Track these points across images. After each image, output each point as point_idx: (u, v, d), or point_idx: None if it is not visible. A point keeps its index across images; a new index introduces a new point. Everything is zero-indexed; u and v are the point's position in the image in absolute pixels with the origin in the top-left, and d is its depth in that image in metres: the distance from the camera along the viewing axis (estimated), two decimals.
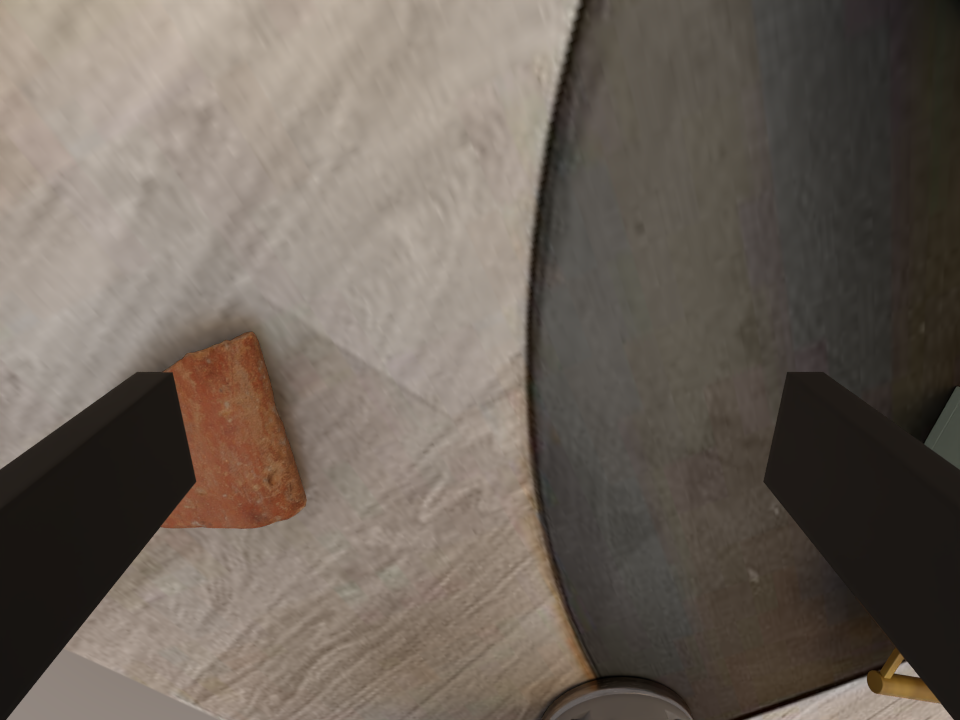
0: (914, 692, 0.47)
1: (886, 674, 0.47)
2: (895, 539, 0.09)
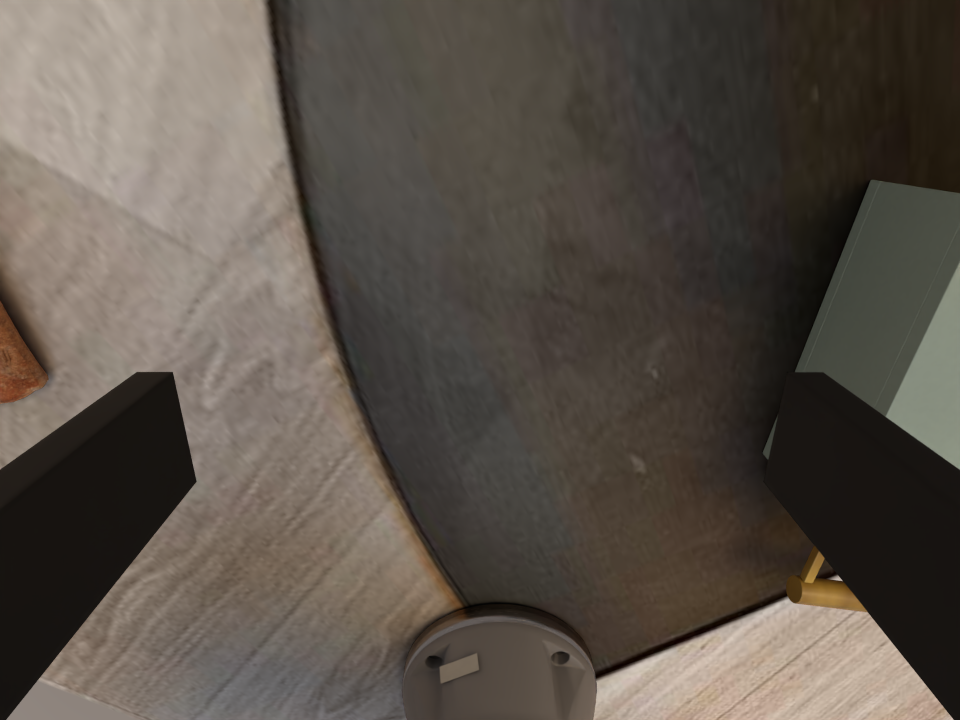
0: (844, 599, 0.37)
1: (806, 577, 0.37)
2: (894, 539, 0.09)
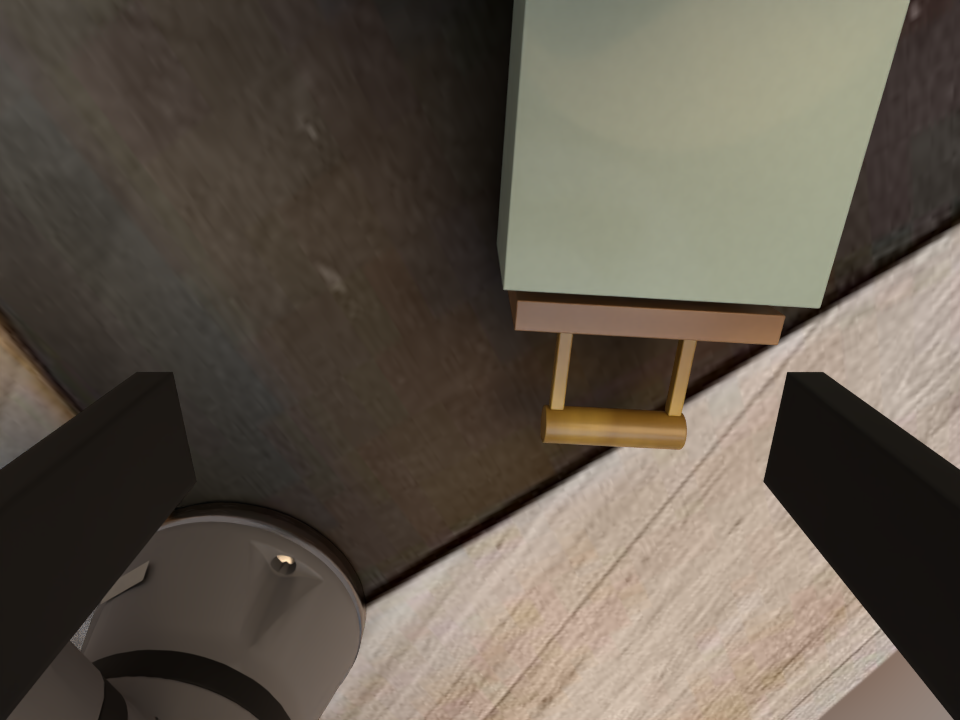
0: (609, 428, 0.26)
1: (552, 401, 0.26)
2: (895, 539, 0.09)
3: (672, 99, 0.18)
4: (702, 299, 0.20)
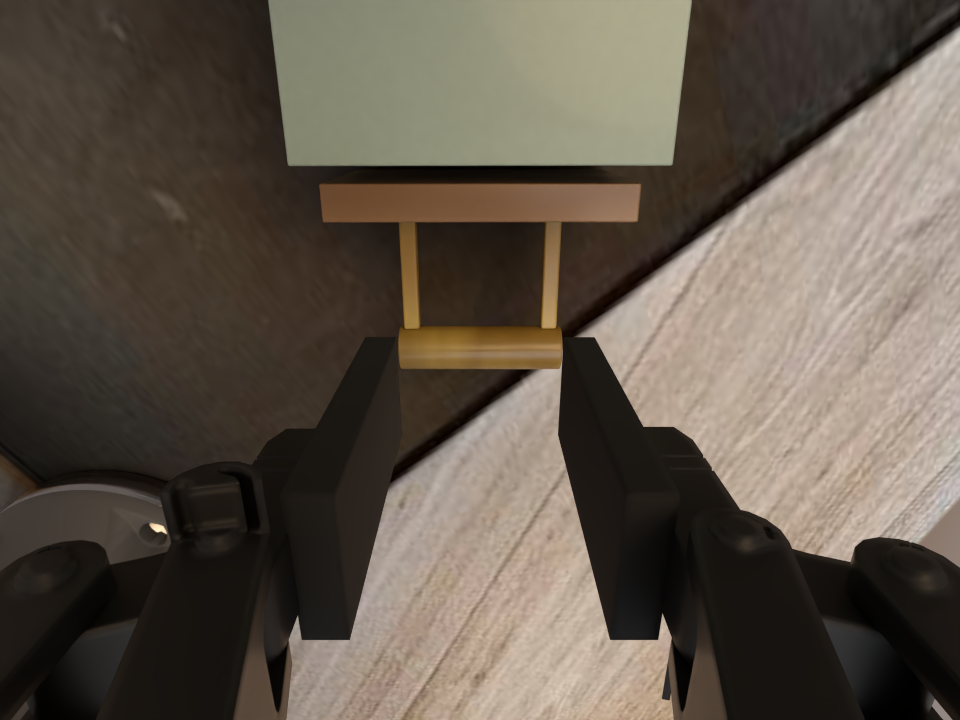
0: (472, 346, 0.22)
1: (405, 319, 0.22)
2: (587, 464, 0.11)
3: None
4: (528, 163, 0.17)
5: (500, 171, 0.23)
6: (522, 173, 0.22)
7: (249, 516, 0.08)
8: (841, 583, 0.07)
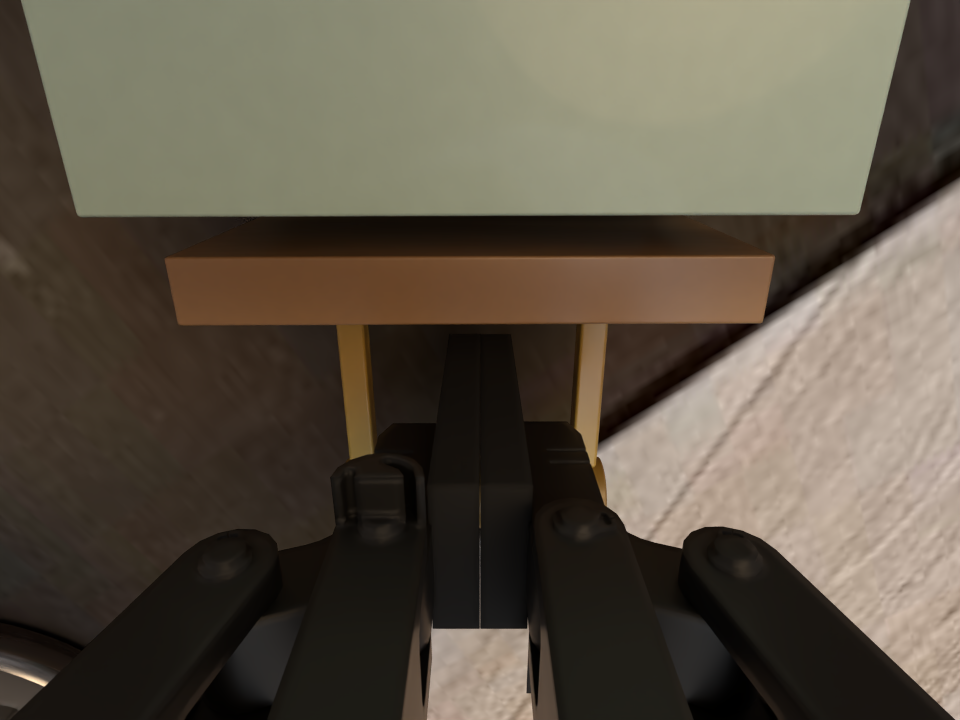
0: None
1: (351, 455, 0.14)
2: None
3: None
4: (567, 210, 0.08)
5: None
6: (541, 218, 0.13)
7: (406, 508, 0.08)
8: (675, 570, 0.07)
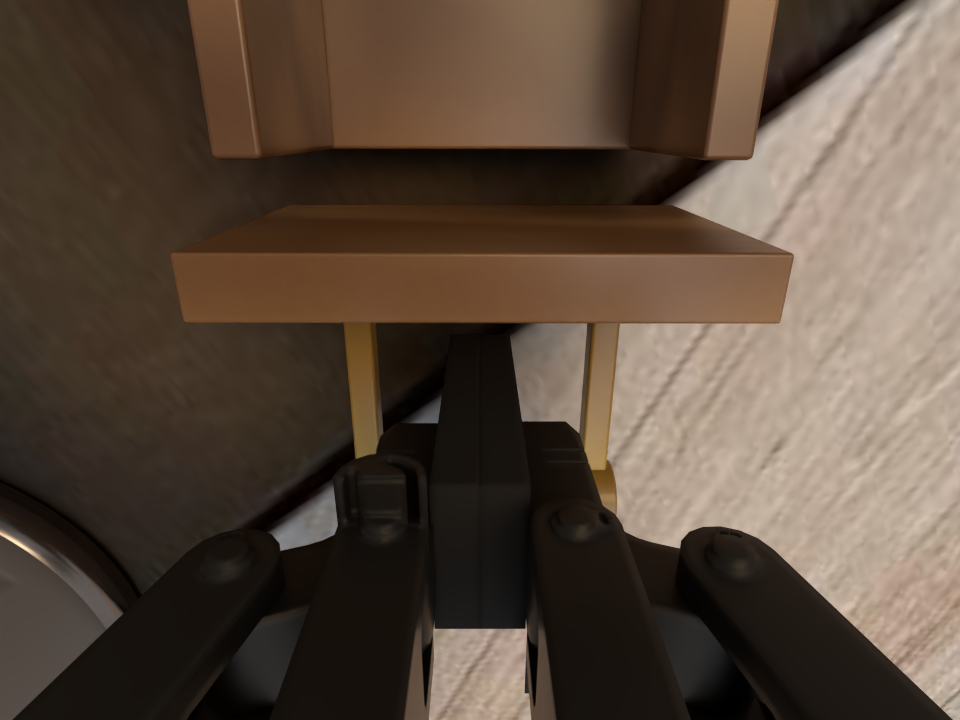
0: None
1: (357, 456, 0.13)
2: None
3: None
4: None
5: (514, 211, 0.14)
6: (552, 217, 0.13)
7: (408, 509, 0.08)
8: (673, 571, 0.07)
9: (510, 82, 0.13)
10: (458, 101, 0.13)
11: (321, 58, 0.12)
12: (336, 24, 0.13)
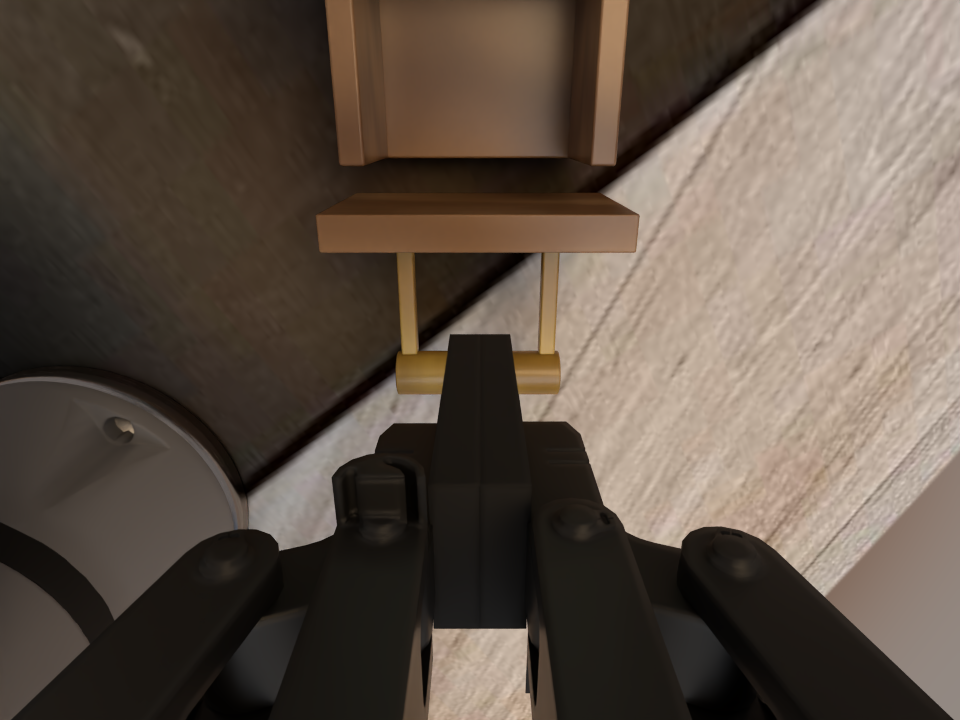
0: None
1: (403, 345, 0.22)
2: None
3: None
4: None
5: (498, 196, 0.23)
6: (520, 199, 0.22)
7: (407, 508, 0.08)
8: (674, 570, 0.08)
9: (495, 118, 0.22)
10: (464, 129, 0.22)
11: (383, 105, 0.21)
12: (391, 84, 0.21)
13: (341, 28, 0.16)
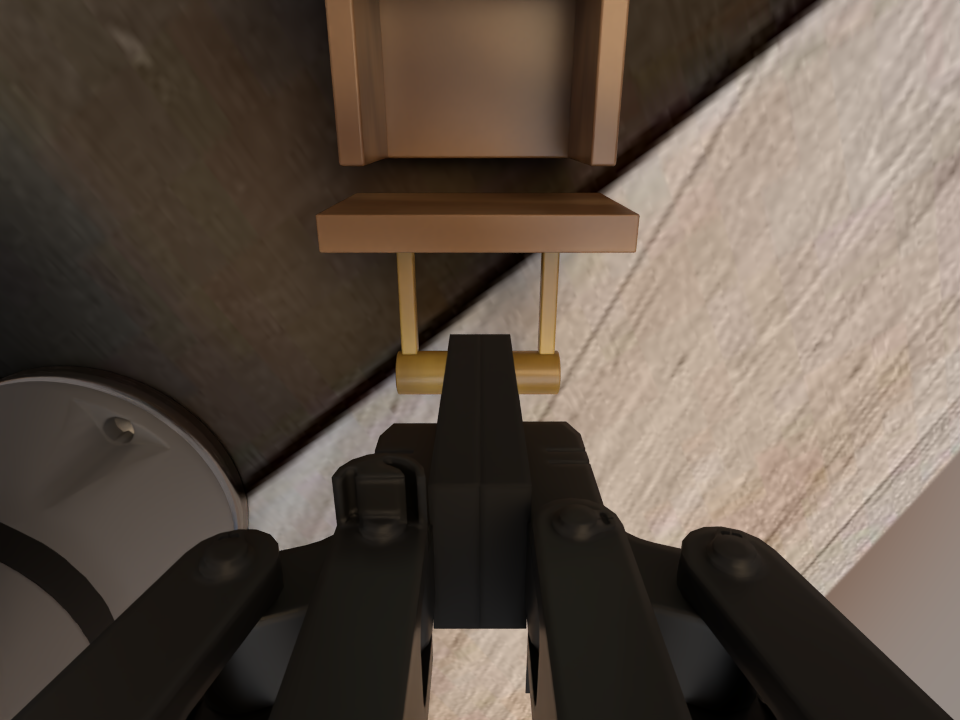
0: None
1: (403, 345, 0.22)
2: None
3: None
4: None
5: (498, 196, 0.23)
6: (520, 199, 0.22)
7: (407, 508, 0.08)
8: (674, 570, 0.08)
9: (495, 118, 0.22)
10: (464, 129, 0.22)
11: (383, 105, 0.21)
12: (391, 84, 0.21)
13: (341, 28, 0.16)
